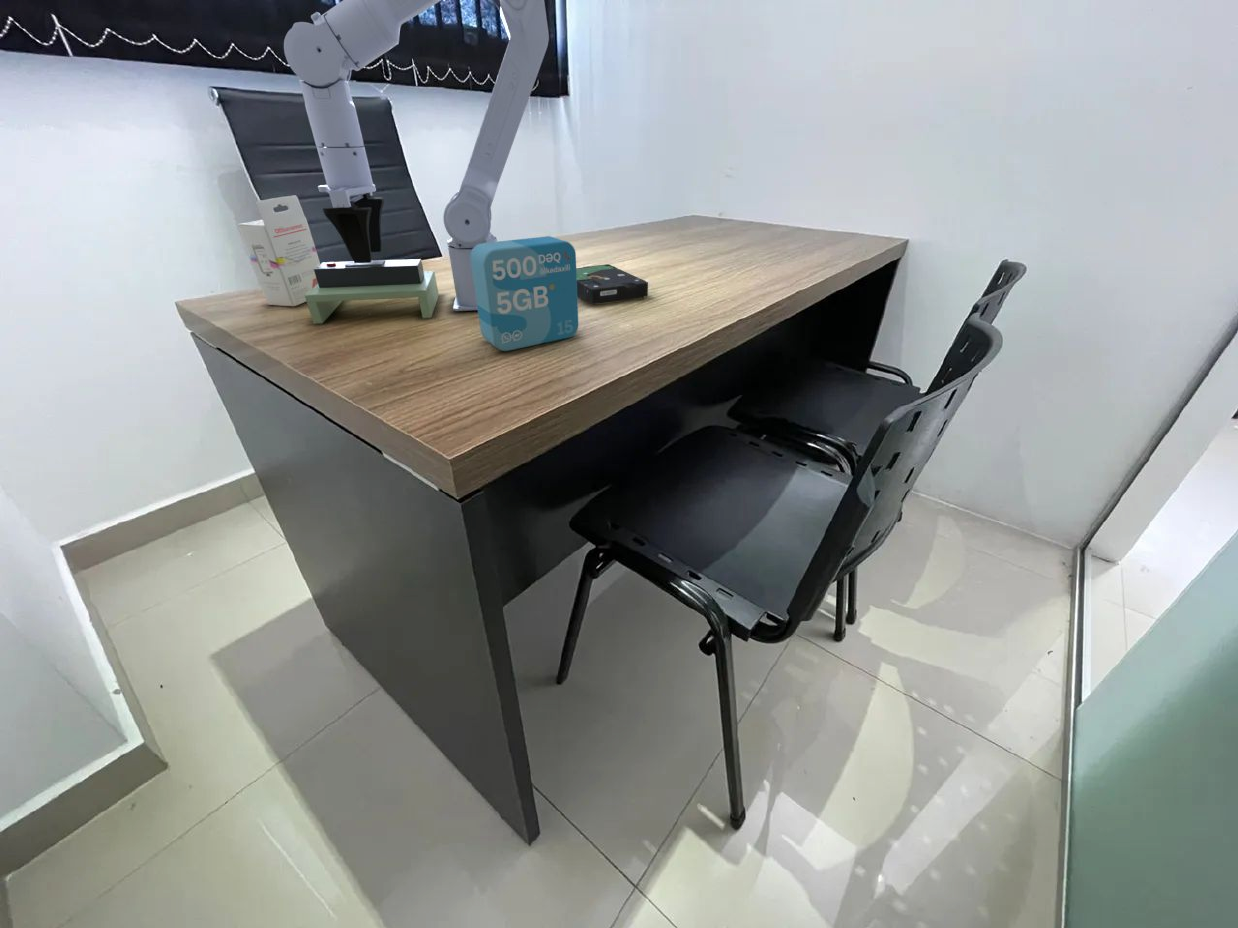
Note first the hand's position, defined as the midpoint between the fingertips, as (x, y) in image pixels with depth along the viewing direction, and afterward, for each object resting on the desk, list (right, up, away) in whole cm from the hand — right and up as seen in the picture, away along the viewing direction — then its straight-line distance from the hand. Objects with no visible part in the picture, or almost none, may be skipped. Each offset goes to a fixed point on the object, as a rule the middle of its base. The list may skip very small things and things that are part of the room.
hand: (368, 257), depth 74 cm
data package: (+25, -14, -7) cm, 29 cm away
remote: (0, -3, +2) cm, 4 cm away
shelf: (0, -6, +4) cm, 8 cm away
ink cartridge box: (-15, -4, +9) cm, 18 cm away
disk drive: (+34, -1, +13) cm, 36 cm away
